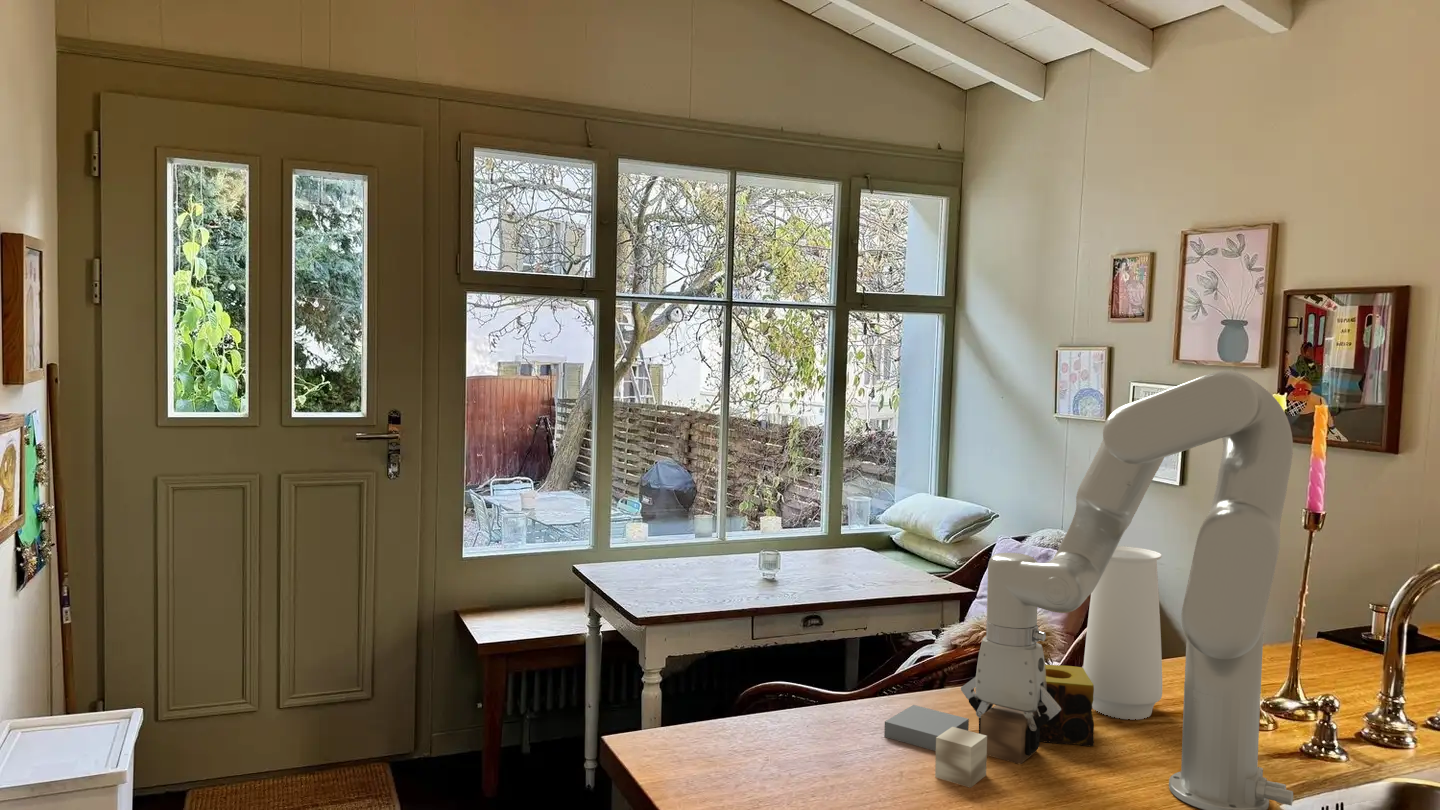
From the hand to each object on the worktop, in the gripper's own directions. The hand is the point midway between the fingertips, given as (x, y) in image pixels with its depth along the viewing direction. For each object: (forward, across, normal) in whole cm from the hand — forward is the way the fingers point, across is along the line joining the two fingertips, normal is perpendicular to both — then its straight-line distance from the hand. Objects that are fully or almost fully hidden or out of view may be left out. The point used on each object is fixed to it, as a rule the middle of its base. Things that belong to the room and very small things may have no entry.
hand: (1008, 745), depth 153 cm
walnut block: (+1, 0, 0) cm, 1 cm away
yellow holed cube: (+1, -3, -13) cm, 13 cm away
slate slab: (+1, +13, +2) cm, 13 cm away
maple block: (+1, +2, +13) cm, 13 cm away
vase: (+1, -8, -31) cm, 32 cm away
